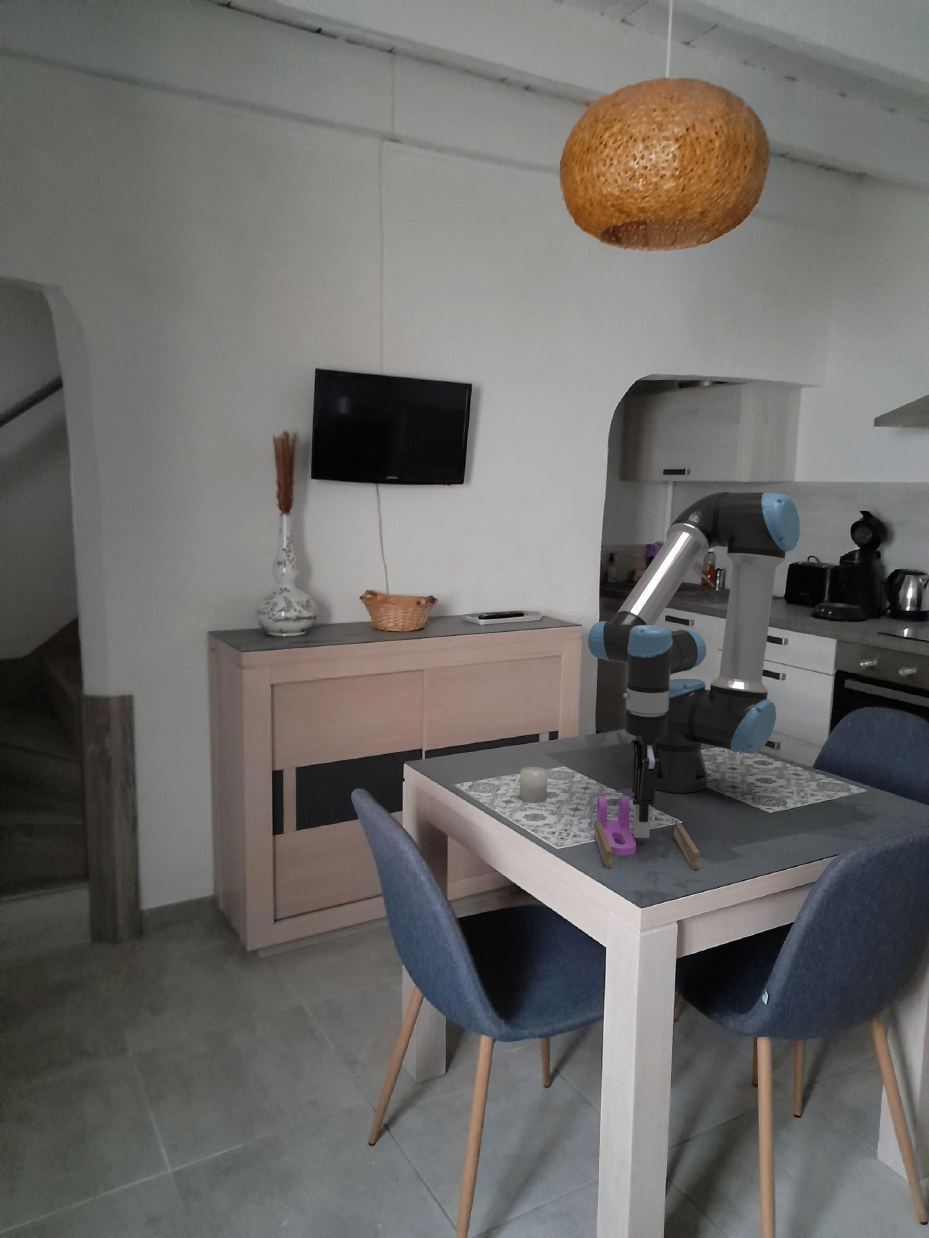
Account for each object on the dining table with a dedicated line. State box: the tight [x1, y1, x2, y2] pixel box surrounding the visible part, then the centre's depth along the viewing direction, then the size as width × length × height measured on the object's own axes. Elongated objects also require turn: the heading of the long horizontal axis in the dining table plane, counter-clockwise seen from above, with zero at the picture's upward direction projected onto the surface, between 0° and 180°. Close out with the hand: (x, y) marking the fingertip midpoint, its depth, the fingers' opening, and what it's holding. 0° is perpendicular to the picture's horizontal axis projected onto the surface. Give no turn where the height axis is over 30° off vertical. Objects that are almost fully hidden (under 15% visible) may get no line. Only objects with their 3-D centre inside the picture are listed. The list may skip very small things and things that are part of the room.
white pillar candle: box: [519, 766, 548, 804], centre depth 185 cm, size 6×6×6 cm
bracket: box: [595, 795, 637, 856], centre depth 163 cm, size 13×6×7 cm, turn 1°
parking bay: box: [593, 820, 701, 870], centre depth 159 cm, size 16×14×3 cm
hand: (640, 836), depth 163 cm, fingers closed
